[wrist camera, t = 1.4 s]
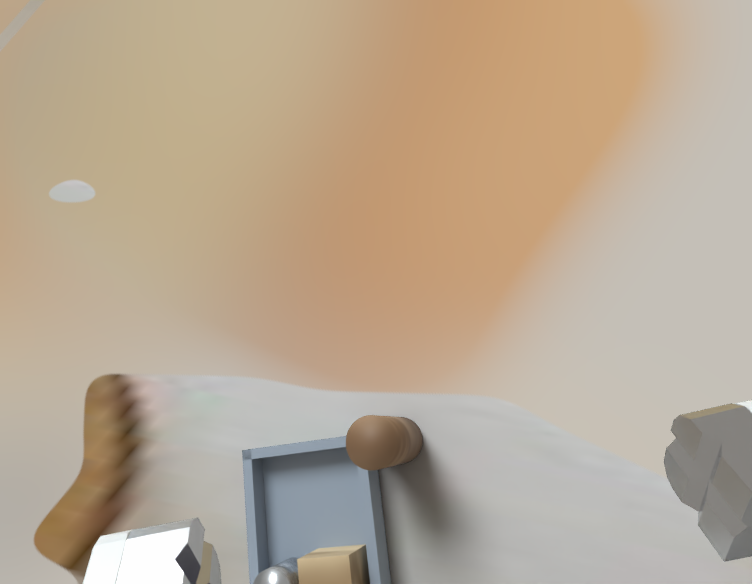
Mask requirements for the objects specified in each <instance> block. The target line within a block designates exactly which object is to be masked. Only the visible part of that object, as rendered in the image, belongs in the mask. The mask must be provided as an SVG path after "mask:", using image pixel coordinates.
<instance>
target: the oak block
mask: <svg viewBox="0 0 752 584" xmlns="http://www.w3.org/2000/svg"><path fill="white" fill-rule="evenodd" d="M297 564H298V577H299V584H370V577H369V568H368V559H367V550H366V544H364V545H352V546H340V547H328V548H318V549H316V550H314V551H312V552H310V553H308V554H306V555H305V556H303V557H301V558H299V559H297Z"/></svg>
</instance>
